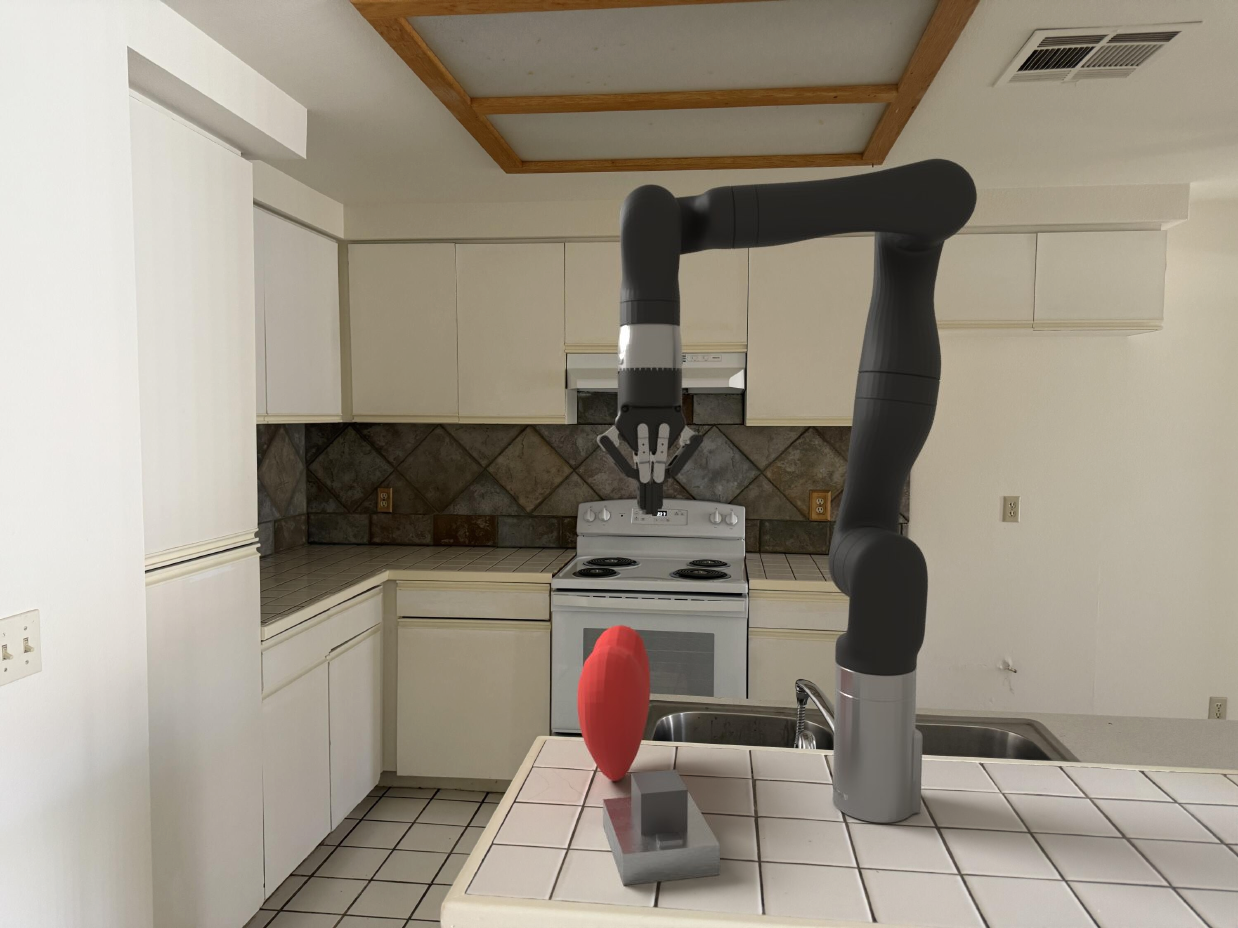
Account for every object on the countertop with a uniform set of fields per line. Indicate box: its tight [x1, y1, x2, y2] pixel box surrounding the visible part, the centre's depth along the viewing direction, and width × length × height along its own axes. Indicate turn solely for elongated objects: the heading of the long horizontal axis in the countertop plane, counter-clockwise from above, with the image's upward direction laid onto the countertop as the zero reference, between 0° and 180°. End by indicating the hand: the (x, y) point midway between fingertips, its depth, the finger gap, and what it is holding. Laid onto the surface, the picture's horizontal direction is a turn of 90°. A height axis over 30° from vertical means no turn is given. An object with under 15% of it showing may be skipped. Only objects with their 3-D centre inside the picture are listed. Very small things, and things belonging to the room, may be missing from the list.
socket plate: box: [602, 791, 721, 886], centre depth 91 cm, size 10×12×4 cm
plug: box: [630, 769, 689, 835], centre depth 91 cm, size 5×5×7 cm
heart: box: [576, 624, 651, 782], centre depth 108 cm, size 20×9×19 cm, turn 172°
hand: (649, 513), depth 100 cm, fingers closed
